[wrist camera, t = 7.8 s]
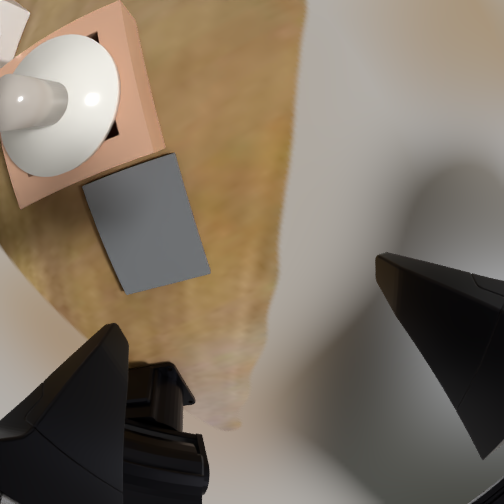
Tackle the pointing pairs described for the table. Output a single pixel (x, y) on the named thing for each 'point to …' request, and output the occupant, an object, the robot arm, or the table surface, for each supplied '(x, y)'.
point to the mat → (147, 225)
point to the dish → (129, 113)
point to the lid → (59, 105)
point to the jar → (11, 28)
